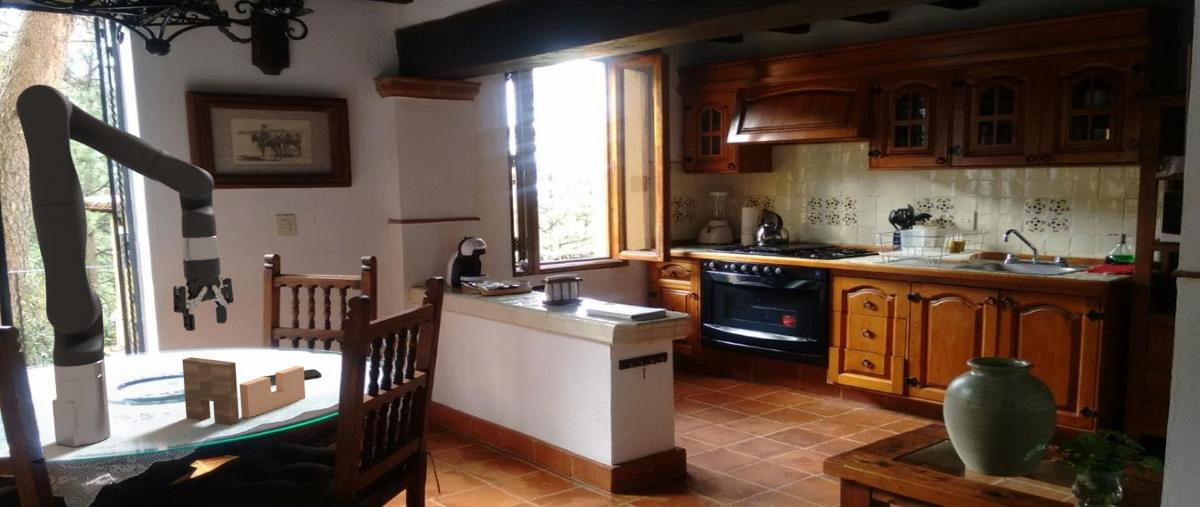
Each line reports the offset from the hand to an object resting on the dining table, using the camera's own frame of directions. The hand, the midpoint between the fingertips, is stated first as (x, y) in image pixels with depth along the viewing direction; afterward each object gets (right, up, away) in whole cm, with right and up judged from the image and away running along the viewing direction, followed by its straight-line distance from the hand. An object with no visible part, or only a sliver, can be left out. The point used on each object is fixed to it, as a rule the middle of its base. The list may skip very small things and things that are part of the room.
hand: (206, 326), depth 188 cm
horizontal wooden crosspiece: (+11, -21, +12) cm, 26 cm away
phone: (+5, -18, +38) cm, 43 cm away
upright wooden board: (0, -22, +3) cm, 22 cm away
